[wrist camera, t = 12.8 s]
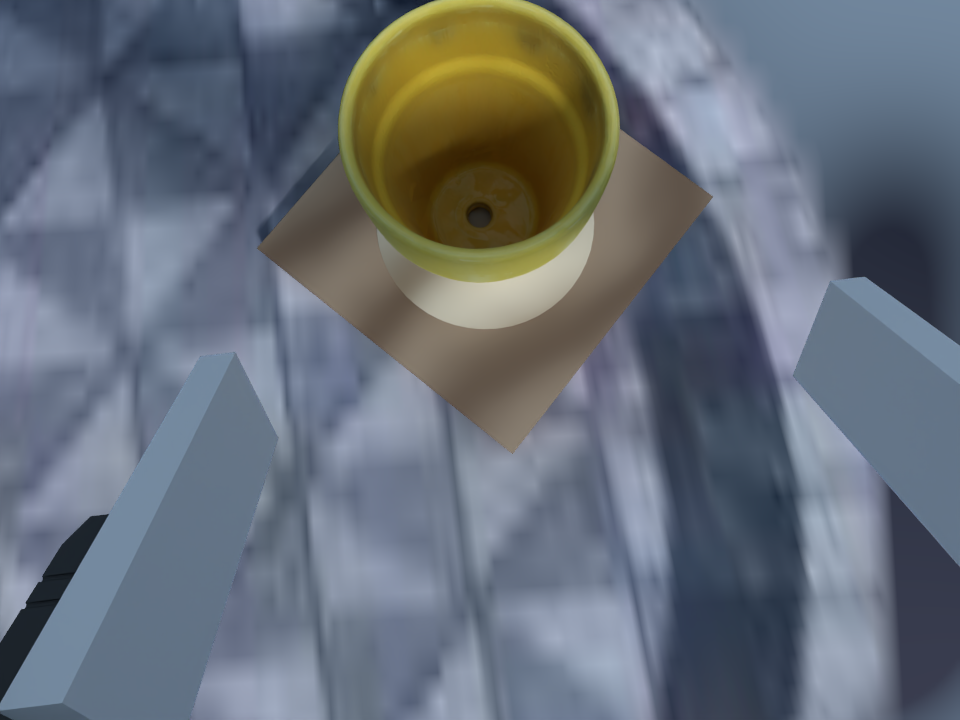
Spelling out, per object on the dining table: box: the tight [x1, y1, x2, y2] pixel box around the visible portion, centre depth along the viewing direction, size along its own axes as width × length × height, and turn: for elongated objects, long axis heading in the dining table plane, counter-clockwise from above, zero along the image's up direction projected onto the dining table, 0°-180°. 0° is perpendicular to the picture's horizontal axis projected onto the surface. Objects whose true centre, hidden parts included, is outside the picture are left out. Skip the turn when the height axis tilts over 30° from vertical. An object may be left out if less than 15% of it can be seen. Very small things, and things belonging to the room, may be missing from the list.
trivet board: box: [257, 130, 713, 454], centre depth 29 cm, size 18×18×2 cm
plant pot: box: [338, 0, 620, 283], centre depth 23 cm, size 10×10×10 cm
